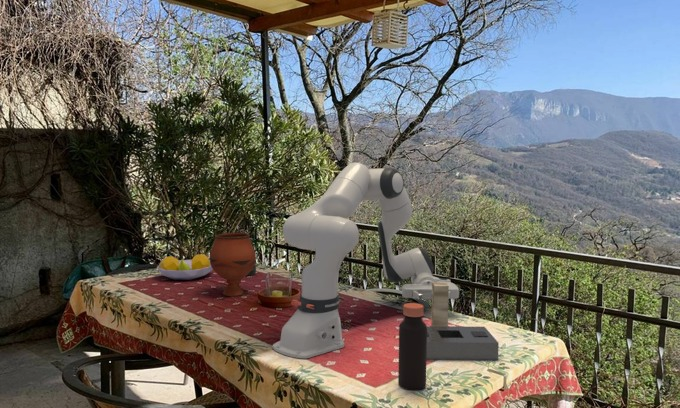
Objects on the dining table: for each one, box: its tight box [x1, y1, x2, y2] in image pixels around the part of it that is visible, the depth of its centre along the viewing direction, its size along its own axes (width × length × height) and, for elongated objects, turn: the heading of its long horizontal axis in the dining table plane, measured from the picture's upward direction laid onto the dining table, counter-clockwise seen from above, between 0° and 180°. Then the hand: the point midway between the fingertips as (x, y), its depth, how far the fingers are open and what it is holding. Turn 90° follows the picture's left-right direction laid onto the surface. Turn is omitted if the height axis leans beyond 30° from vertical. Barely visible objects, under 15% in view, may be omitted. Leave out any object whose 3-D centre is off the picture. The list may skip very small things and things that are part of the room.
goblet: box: [209, 232, 257, 297], centre depth 210 cm, size 19×19×25 cm
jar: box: [245, 261, 257, 278], centre depth 246 cm, size 10×10×8 cm
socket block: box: [426, 325, 499, 361], centre depth 147 cm, size 14×24×5 cm, turn 90°
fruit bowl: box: [156, 253, 214, 281], centre depth 239 cm, size 28×27×11 cm
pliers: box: [339, 295, 348, 303], centre depth 208 cm, size 10×1×20 cm
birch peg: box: [430, 282, 449, 326], centre depth 163 cm, size 4×4×16 cm
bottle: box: [397, 302, 428, 391], centre depth 123 cm, size 7×7×20 cm
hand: (433, 297), depth 173 cm, fingers open, 8 cm apart
